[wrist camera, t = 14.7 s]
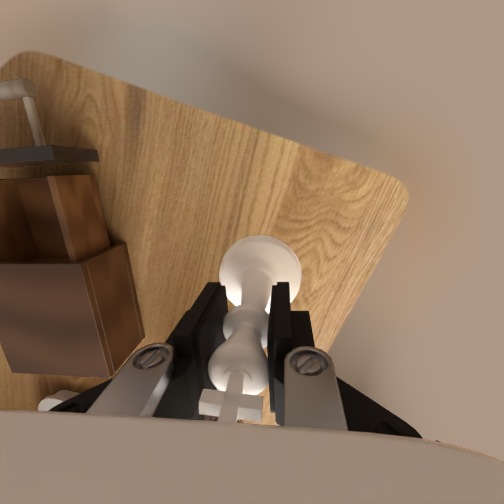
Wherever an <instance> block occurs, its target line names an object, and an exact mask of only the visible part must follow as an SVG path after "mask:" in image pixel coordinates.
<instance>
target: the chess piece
mask: <svg viewBox="0 0 504 504" xmlns="http://www.w3.org/2000/svg"><path fill="white" fill-rule="evenodd" d="M301 276H302V273H301V266H300V262H299V260H298V258H297V256H296V254H295V253H294V251H293V250H292V249H291V248H290V247H289V246H288V245H287V244H285V243H284V242H282V241H280V240H279V239H276V238H274V237H270V236H265V235H254V236H248V237H245V238H243V239H241V240H239V241H237V242H236V243H234V244H233V245H232V246H231V247H230V248H229V249H228V250H227V252H226V253H225V255H224V257H223V259H222V262H221V266H220V273H219V277H220V283H221V285H225V287H226V296H227V298H228V299H229V300H230V301H231V302H232V303H233V304H234V305H235V307H233V308H232V309H230V310H229V311H228V312H227V314H226V315H225V317H224V319H223V333H224V336H225V338H226V341H225V342H224V343H223V344H221V345H220V346H219V347H218V348H217V349H216V350H215V352H214V353H213V354H212V356H211V357H210V360H209V363H208V374H209V377H210V379H211V381H212V383H213V384H214V385H215V387H216V388H217V389H219V390H220V391H219V390H211V389H203V391H202V394H201V397H200V400H199V414H202V415H210V416H217V417H218V421H217V422H232V423H237V421H238V419H239V420H246V421H254V422H261V418H262V407H263V396H259V395H257V394H259V393H260V392H262V391H263V390H264V389H265V388H266V386H267V385H268V383H269V372H268V359H267V356H266V354H265V352H264V350H263V349H264V348H265V347H266V346H267V331H268V322H269V312H270V302H271V292H272V285H277V282H289V285H290V303H291V302H292V301H293V299H294V298H295V296H296V295H297V293H298V290H299V287H300V283H301Z"/></svg>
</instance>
